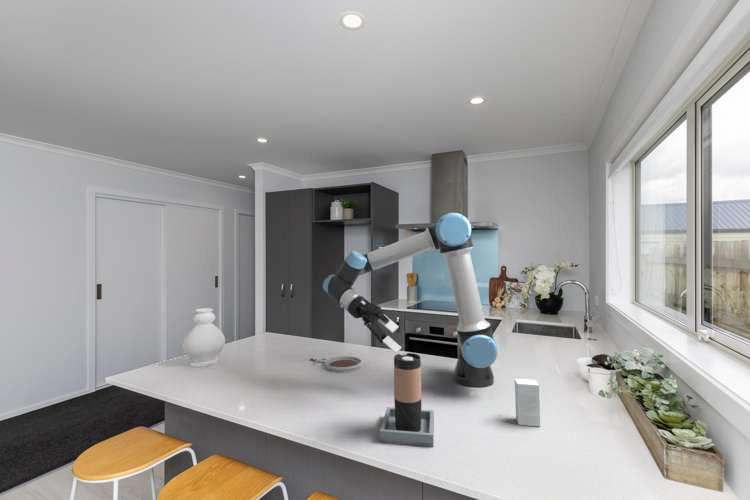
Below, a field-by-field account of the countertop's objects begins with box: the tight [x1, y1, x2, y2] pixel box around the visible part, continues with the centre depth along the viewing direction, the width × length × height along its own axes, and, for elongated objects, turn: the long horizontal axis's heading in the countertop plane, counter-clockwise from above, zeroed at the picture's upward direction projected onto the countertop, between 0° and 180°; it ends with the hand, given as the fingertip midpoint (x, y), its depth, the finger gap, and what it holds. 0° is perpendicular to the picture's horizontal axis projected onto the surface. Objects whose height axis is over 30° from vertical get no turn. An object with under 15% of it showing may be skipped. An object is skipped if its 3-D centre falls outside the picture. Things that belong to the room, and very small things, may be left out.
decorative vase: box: [182, 307, 226, 368], centre depth 159 cm, size 18×18×25 cm
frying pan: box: [308, 355, 363, 374], centre depth 154 cm, size 17×3×28 cm
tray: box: [379, 406, 435, 448], centre depth 96 cm, size 14×14×3 cm
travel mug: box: [393, 352, 422, 432], centre depth 96 cm, size 8×8×20 cm
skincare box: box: [514, 378, 541, 428], centre depth 99 cm, size 6×4×12 cm
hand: (397, 340), depth 111 cm, fingers open, 13 cm apart
